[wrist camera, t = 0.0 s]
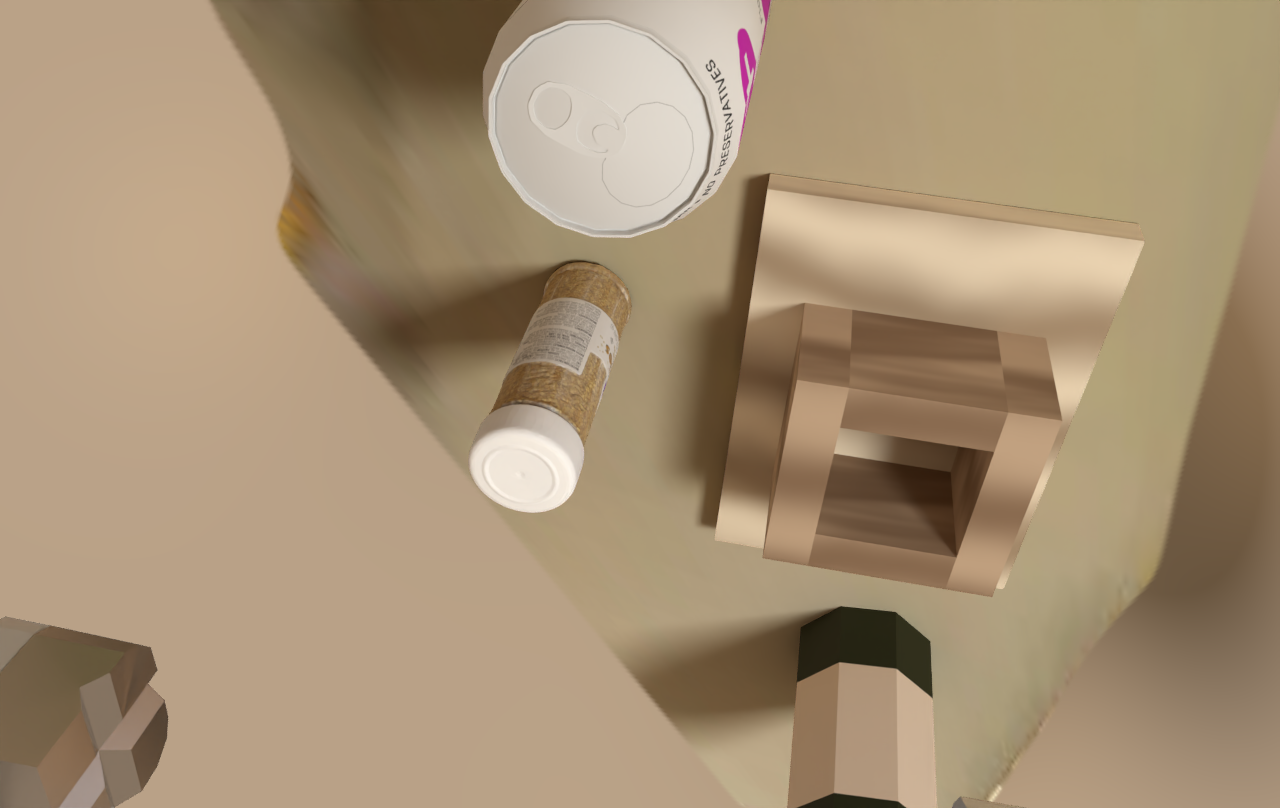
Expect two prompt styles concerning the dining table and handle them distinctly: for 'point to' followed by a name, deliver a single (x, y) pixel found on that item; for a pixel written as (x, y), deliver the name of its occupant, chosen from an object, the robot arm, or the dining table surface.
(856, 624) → the wine bottle
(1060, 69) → the dining table surface
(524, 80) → the supplement can
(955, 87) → the dining table surface
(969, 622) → the dining table surface
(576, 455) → the sprinkles bottle
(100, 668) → the robot arm
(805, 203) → the holder board
